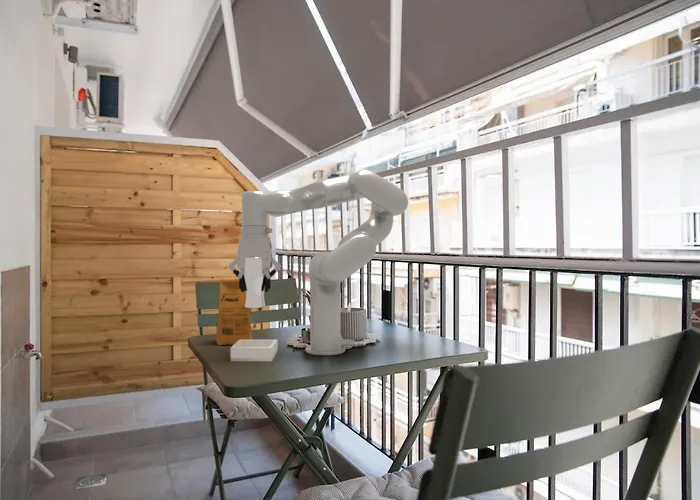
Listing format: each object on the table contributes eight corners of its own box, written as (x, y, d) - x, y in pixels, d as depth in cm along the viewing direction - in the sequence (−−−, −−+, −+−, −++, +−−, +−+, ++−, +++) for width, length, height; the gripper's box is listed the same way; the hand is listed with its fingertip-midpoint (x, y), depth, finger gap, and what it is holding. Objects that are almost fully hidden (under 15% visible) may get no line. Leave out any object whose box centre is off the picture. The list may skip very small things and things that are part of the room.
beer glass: (238, 307, 147) (238, 257, 147) (251, 304, 153) (251, 256, 153) (258, 308, 144) (258, 257, 144) (271, 305, 151) (270, 256, 150)
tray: (277, 352, 155) (277, 339, 155) (271, 361, 143) (271, 347, 143) (239, 352, 155) (239, 339, 155) (230, 361, 143) (230, 347, 143)
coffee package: (219, 340, 174) (218, 278, 174) (254, 339, 175) (254, 278, 175) (213, 346, 165) (212, 280, 164) (250, 345, 165) (250, 280, 165)
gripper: (285, 232, 152) (285, 290, 152) (228, 232, 152) (229, 290, 152) (281, 232, 145) (282, 292, 145) (222, 232, 145) (223, 292, 145)
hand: (255, 291), depth 149 cm, fingers closed on beer glass, 6 cm apart
